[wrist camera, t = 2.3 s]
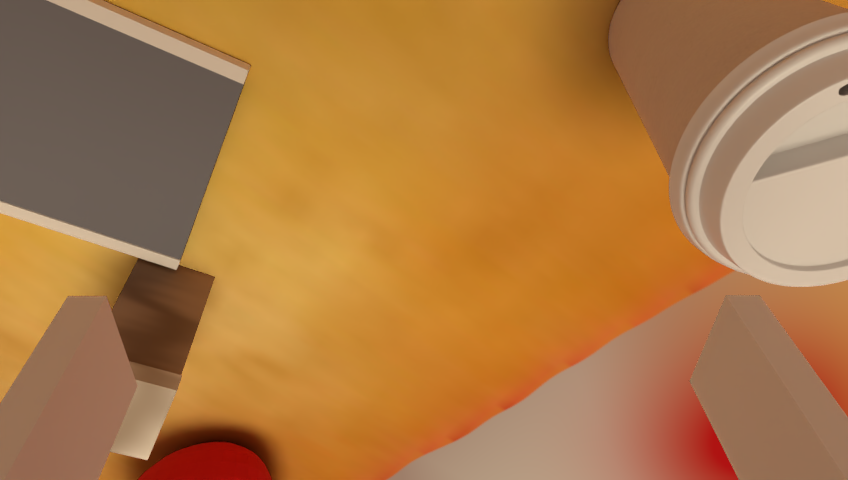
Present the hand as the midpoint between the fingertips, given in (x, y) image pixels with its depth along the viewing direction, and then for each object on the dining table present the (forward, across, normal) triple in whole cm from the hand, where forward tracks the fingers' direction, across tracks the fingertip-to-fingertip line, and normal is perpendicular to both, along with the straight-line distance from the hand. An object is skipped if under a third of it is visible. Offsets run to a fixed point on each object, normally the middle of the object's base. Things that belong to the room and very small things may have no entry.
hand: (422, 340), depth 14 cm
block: (+21, -15, -18) cm, 31 cm away
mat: (+21, -19, -4) cm, 28 cm away
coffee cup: (+21, +13, +1) cm, 25 cm away
